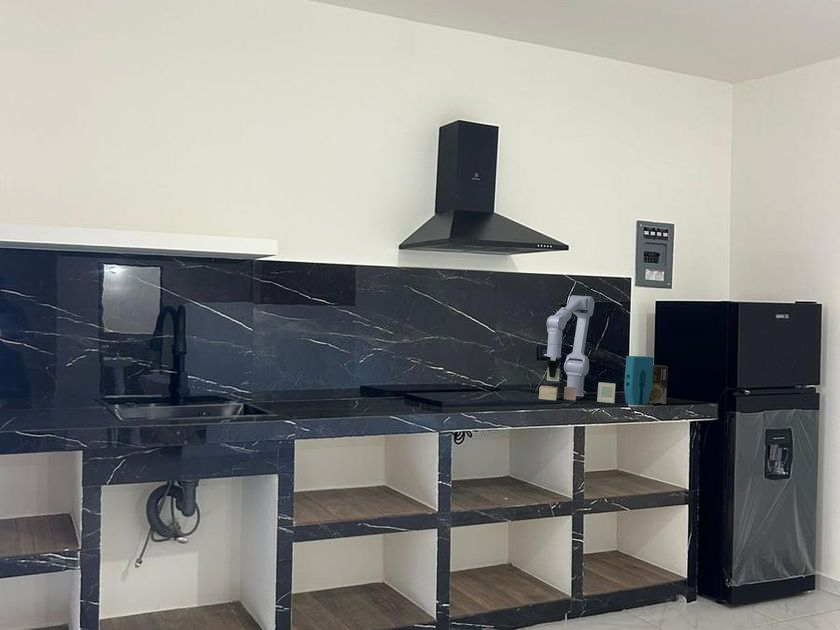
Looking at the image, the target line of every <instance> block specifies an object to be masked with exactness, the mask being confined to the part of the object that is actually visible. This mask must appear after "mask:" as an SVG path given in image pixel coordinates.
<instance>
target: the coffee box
mask: <svg viewBox="0 0 840 630" xmlns="http://www.w3.org/2000/svg"><path fill="white" fill-rule="evenodd" d="M668 372H669V366H667V365H657V364H653V375H652V388H651V393H650V396H649V400H648V404H657V403H661V404H660V405H666V404H667V395H668V394H667V392H668V374H669V373H668Z"/></svg>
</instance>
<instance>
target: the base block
mask: <svg viewBox="0 0 840 630" xmlns="http://www.w3.org/2000/svg"><path fill="white" fill-rule="evenodd" d="M538 389H539V393H538V399H539V400H547V401H557V399H558V386H548V385H540V386H539V388H538Z"/></svg>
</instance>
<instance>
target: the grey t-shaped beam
mask: <svg viewBox="0 0 840 630" xmlns="http://www.w3.org/2000/svg"><path fill="white" fill-rule="evenodd" d="M597 385H598V386H597V398H596V401H597V403H598V402H599V403H606V404H607V403H608V404H609V403H610V404H615V396H616V383H611V382H602V381H601V382H599V381H598V384H597Z"/></svg>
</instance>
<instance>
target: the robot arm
mask: <svg viewBox="0 0 840 630" xmlns="http://www.w3.org/2000/svg"><path fill="white" fill-rule="evenodd" d="M594 309H595V300H594V297H593V296H590V295H589V296H586V295H585V296H584V295H574V294H573V295H571V296H570V297H569V300H568V304H567V305H566V306H565V307H560V309H558V311H557V312H555V314H554V315H550V316H549V317H547V320H546V327H547V328H546V329H547V331H546V332H547V333H548V334H547V335H548V336H547V346H546V347H547V349H546V353H544V355H543V356H544V357H547V359H546V360H545V361H546V363H547V368H549V376H550V377H555V375H556V370H557V368H559V365H560V363H561V359H560V358H562V344H563V343H562V342H563V330H565V328H566V326H567V322H568V321H569V320H570V319H571V318H572V314H573V315H575V316H576V317H577V321H576V327H575V335H574V341H573V347H572V352H571V353H569V354H567V355H566V358H565V362H564V365H563V370H564V372H565V375H566V376H567V380H566V387H576V397H584V396H585V394H584V385H585V384H584V382H585V377H586V376H587V375H588V373H589V371H590V364H589V363H590V359H589V358H588V356H586V355H585V350H586V342H587V336H588V329H589V322H590V317H593V314H594ZM548 357H549V358H548ZM558 358H559V359H558Z"/></svg>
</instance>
